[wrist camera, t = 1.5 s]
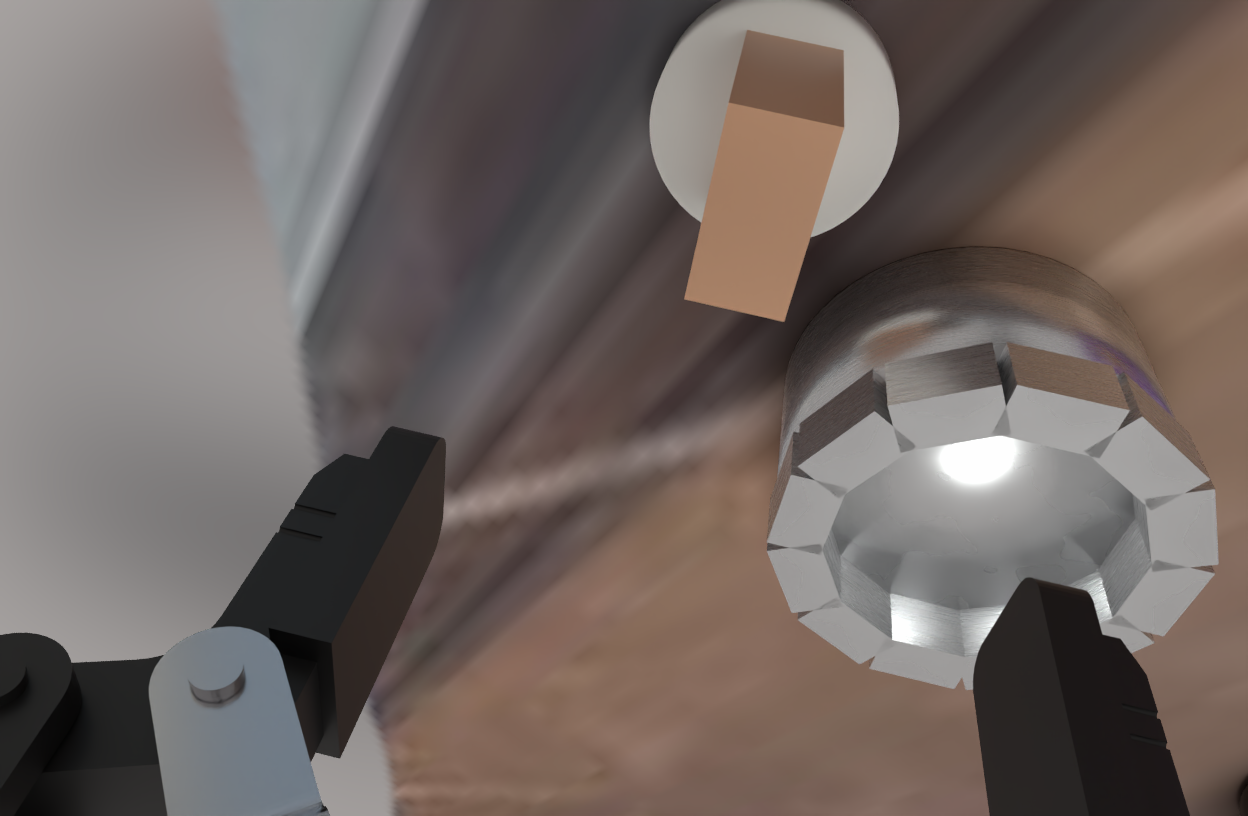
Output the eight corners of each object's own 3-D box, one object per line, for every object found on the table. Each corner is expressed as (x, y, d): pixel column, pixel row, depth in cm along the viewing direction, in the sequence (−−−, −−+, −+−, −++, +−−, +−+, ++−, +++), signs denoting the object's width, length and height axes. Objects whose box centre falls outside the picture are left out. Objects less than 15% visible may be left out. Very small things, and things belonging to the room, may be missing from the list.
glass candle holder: (838, 210, 28) (837, 344, 22) (1219, 294, 27) (1314, 452, 22) (749, 482, 34) (733, 635, 29) (1052, 553, 34) (1092, 722, 29)
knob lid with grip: (682, -40, 24) (639, 42, 19) (930, 12, 24) (956, 110, 19) (642, 188, 28) (597, 308, 23) (854, 235, 28) (857, 368, 23)
